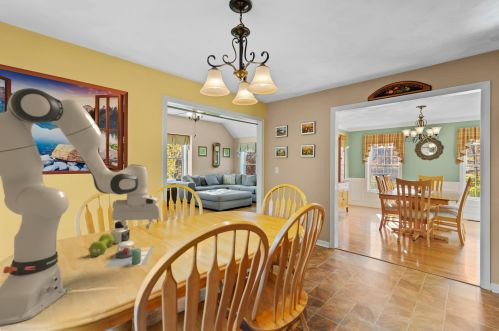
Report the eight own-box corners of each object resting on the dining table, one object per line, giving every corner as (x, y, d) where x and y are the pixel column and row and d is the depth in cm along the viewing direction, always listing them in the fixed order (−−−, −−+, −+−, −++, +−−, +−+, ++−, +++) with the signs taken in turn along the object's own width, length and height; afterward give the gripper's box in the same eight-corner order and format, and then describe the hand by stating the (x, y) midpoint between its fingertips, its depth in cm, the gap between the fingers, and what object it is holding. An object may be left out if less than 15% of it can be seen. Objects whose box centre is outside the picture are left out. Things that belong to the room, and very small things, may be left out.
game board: (145, 266, 109) (145, 257, 108) (104, 269, 105) (104, 260, 105) (154, 248, 131) (154, 241, 131) (120, 250, 127) (120, 242, 127)
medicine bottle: (121, 244, 136) (121, 223, 136) (110, 243, 138) (110, 222, 137) (129, 240, 144) (130, 220, 143) (119, 239, 145) (119, 219, 144)
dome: (131, 252, 116) (131, 245, 116) (115, 253, 115) (115, 246, 115) (135, 247, 123) (135, 240, 123) (120, 247, 122) (120, 241, 122)
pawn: (139, 264, 108) (139, 251, 108) (130, 264, 108) (130, 251, 108) (141, 261, 112) (142, 248, 112) (133, 261, 112) (133, 248, 112)
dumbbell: (105, 256, 119) (105, 242, 119) (87, 257, 117) (87, 243, 117) (115, 245, 135) (115, 232, 135) (99, 246, 133) (99, 233, 133)
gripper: (110, 201, 104) (109, 232, 105) (159, 200, 109) (158, 230, 109) (115, 198, 110) (114, 228, 111) (161, 198, 115) (160, 226, 115)
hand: (136, 229), depth 110 cm, fingers open, 8 cm apart
